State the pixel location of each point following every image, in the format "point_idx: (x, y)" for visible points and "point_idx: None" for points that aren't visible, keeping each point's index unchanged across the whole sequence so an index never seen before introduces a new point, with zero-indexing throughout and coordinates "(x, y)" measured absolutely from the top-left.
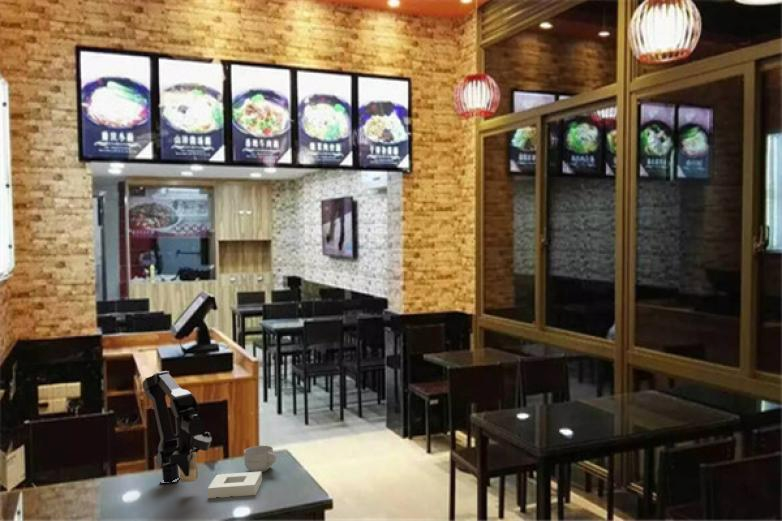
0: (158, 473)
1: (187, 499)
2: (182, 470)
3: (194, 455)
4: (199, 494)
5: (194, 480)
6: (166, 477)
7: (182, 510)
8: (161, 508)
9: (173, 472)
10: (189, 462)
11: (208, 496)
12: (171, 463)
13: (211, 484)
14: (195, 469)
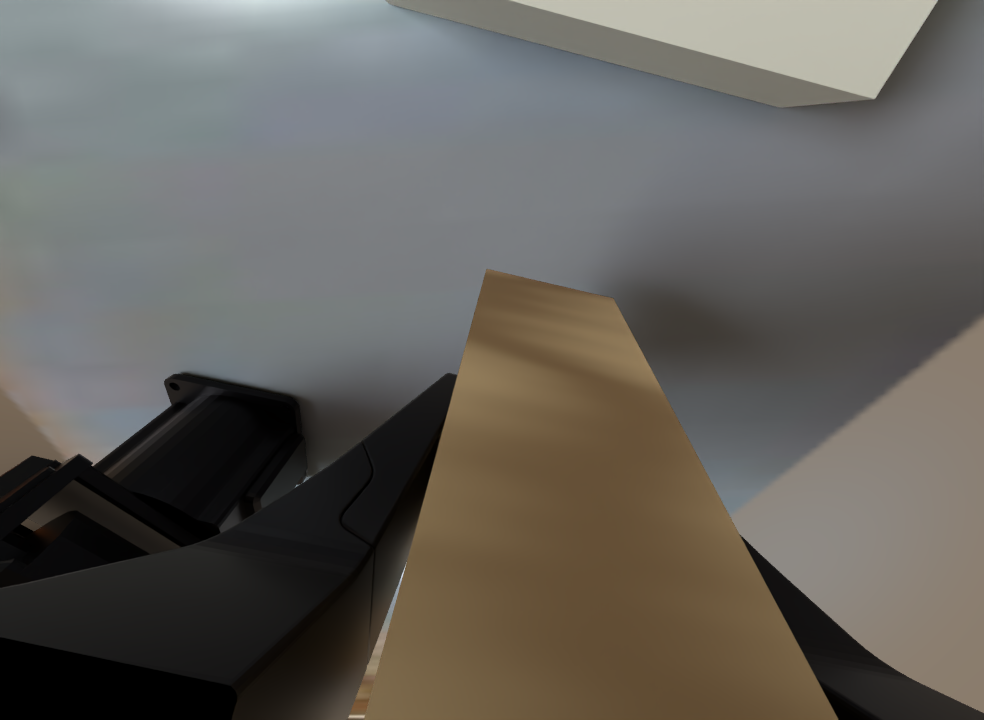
0: None
1: (659, 314)
2: None
3: (639, 711)
4: (603, 218)
5: (613, 307)
6: (288, 482)
7: (872, 338)
8: (707, 454)
9: (236, 465)
10: None
11: (795, 103)
12: (172, 540)
13: (761, 34)
14: (573, 354)
